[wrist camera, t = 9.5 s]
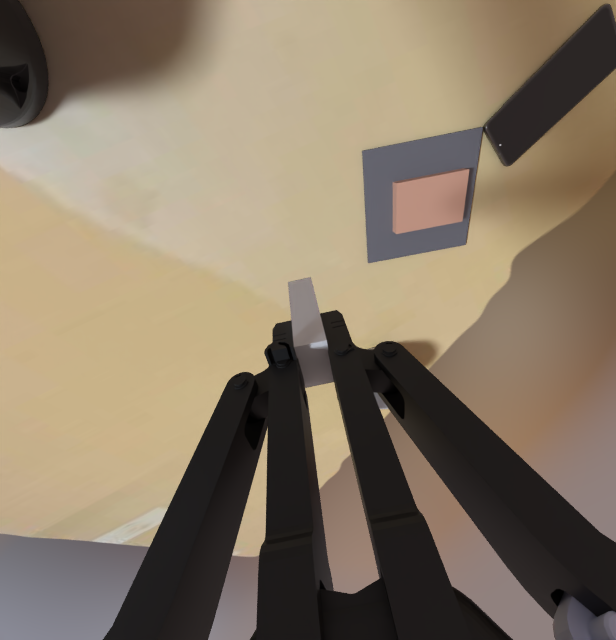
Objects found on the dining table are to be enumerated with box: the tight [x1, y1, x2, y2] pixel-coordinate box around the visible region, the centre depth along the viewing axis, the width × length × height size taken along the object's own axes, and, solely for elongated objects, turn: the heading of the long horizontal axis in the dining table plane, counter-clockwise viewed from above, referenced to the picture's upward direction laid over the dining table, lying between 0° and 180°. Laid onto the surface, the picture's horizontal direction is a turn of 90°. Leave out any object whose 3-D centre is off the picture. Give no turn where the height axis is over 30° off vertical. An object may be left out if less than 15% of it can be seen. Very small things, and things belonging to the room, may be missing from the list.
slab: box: [393, 168, 469, 234], centre depth 40 cm, size 7×2×10 cm
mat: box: [362, 127, 483, 263], centre depth 41 cm, size 16×16×1 cm
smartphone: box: [483, 4, 616, 167], centre depth 36 cm, size 7×1×16 cm
